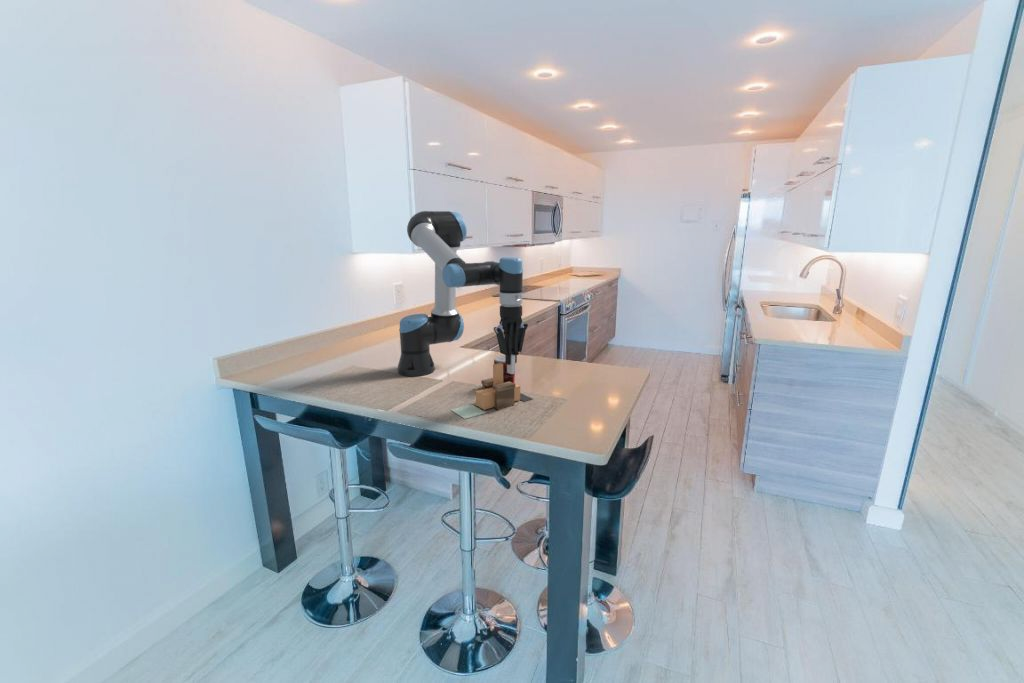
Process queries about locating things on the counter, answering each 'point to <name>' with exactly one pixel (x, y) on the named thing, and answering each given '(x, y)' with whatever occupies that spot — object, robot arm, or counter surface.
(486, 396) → the tan inverted t block
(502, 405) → the dark brown box
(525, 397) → the pit patch
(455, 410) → the pad
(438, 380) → the counter surface
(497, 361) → the canned food
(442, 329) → the robot arm
